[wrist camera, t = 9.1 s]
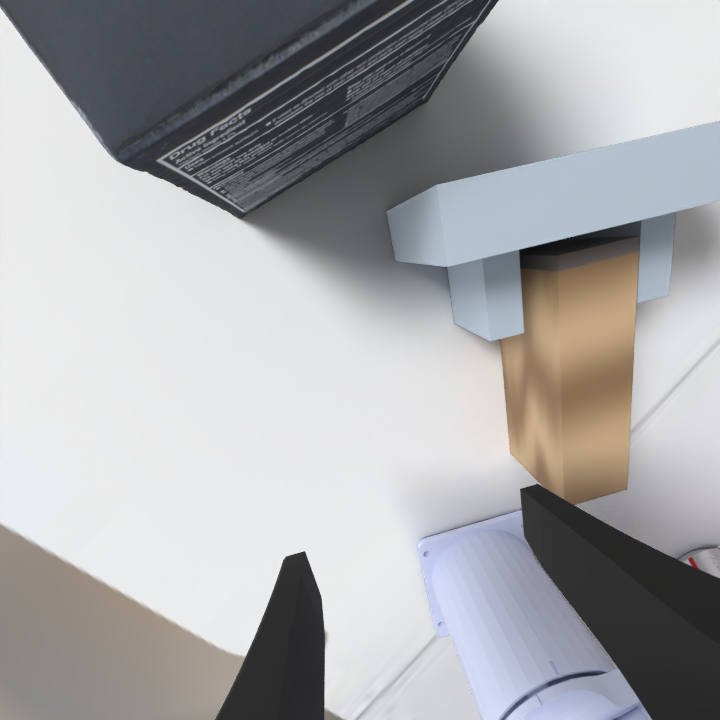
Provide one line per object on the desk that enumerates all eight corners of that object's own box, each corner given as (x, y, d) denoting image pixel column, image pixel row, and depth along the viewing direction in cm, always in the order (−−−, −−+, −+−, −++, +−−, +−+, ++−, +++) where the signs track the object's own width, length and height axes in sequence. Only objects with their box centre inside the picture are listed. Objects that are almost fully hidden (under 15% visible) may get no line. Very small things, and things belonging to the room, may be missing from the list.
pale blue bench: (642, 276, 20) (810, 288, 13) (408, 335, 19) (461, 380, 12) (648, 151, 18) (853, 90, 11) (386, 211, 17) (436, 184, 10)
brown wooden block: (560, 439, 22) (627, 489, 18) (510, 453, 22) (564, 507, 17) (554, 239, 18) (639, 235, 14) (493, 254, 18) (557, 255, 13)
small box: (361, -73, 13) (504, -968, 4) (432, 101, 16) (646, -161, 6) (138, 74, 14) (-287, -364, 4) (237, 224, 16) (120, 180, 6)
